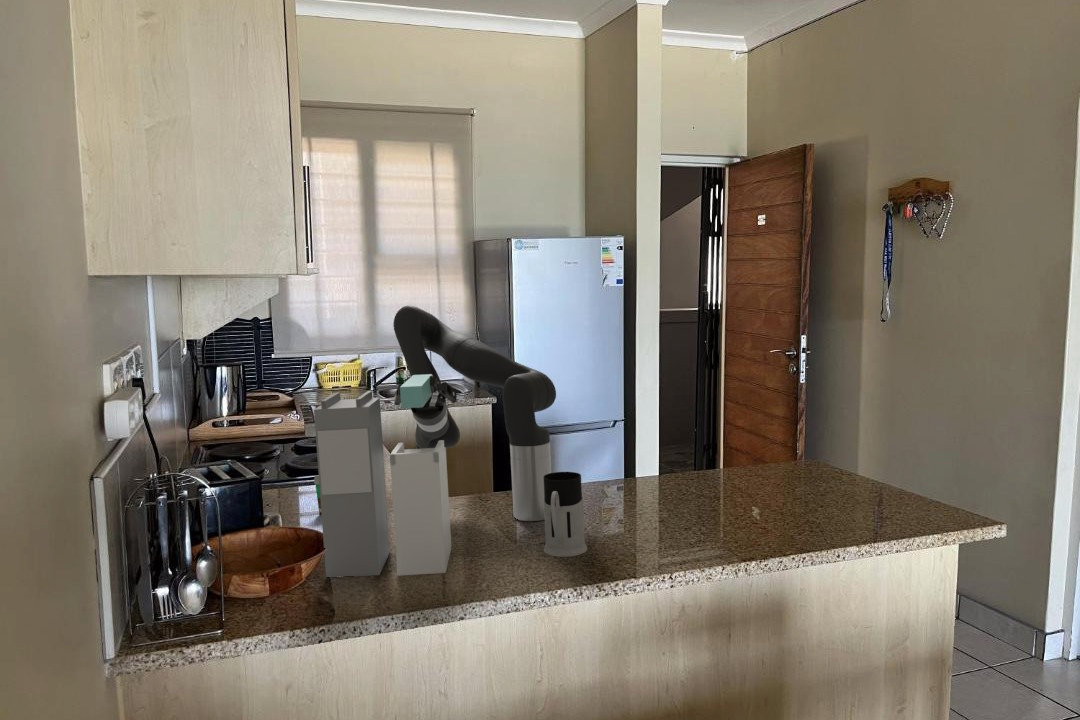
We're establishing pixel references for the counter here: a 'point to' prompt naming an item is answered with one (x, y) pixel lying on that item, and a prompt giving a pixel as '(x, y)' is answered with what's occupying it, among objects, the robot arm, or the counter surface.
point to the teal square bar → (415, 391)
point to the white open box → (420, 509)
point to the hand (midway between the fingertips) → (420, 380)
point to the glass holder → (564, 514)
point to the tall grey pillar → (352, 485)
